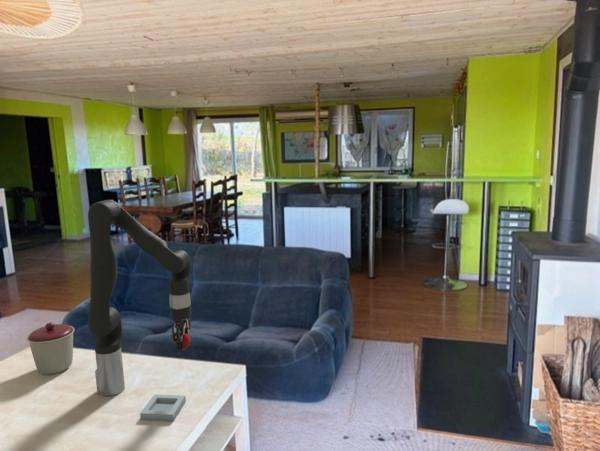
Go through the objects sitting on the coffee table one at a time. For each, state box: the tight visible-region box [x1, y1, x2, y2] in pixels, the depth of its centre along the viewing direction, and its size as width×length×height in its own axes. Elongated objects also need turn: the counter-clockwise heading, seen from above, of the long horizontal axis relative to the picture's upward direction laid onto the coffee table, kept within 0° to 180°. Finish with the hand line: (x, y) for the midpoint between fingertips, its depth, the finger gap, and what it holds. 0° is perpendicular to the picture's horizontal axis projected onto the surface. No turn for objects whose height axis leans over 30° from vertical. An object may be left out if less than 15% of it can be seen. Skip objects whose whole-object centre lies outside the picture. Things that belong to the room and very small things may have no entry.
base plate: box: [139, 394, 187, 422], centre depth 164 cm, size 12×12×2 cm
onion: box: [174, 331, 192, 351], centre depth 171 cm, size 6×6×8 cm
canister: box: [26, 321, 75, 375], centre depth 195 cm, size 18×18×21 cm
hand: (182, 346), depth 172 cm, fingers closed on onion, 6 cm apart
